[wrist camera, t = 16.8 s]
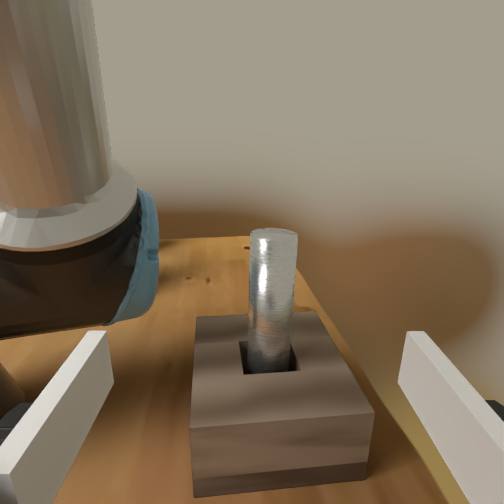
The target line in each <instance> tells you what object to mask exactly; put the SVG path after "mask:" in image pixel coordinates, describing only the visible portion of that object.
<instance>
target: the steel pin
mask: <svg viewBox="0 0 504 504" xmlns="http://www.w3.org/2000/svg"><path fill="white" fill-rule="evenodd" d="M297 241H298V234H297V233H295V232H293V231H291V230H287V229H281V228H262V229H256V230H254V231H252V232H251V233H250V271H249V312H248V354H247V375H248V374H262V373H277V372H288V371H289V356H290V342H291V328H292V314H293V300H294V285H295V271H296V257H297Z"/></svg>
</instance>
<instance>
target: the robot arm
mask: <svg viewBox="0 0 504 504" xmlns="http://www.w3.org/2000/svg"><path fill="white" fill-rule="evenodd" d="M158 250H159V227H158V217H157V211H156V206H155V202H154V199H153V197H152V195H151V194H150V193H149V192H148V191H145V190H140V189H138V188H137V187H136V183H135V180H134V178H133V176H132V174H131V173H130V171H129V170H128V169H127V168H126V167H125V166H124V165H123V164H121V163H120V162H119V161H117V160H115V159H114V158H112V155H111V147H110V140H109V132H108V124H107V117H106V109H105V101H104V93H103V86H102V78H101V70H100V62H99V55H98V47H97V39H96V33H95V24H94V16H93V8H92V0H0V340H5V339H12V338H18V337H24V336H31V335H38V334H45V333H52V332H59V331H66V330H73V329H80V328H87V327H94V326H101V325H102V326H109V325H112V324H114V323H115V322H118V321H123V320H128V319H133V318H137V317H140V316H142V315H143V314H145V313H146V312H147V311H148V310H149V309H150V308H151V306H152V304H153V302H154V299H155V295H156V291H157V284H158V275H159V258H158ZM113 384H114V379H113V372H112V365H111V358H110V351H109V344H108V338H107V331H88V332H87V334H86V335H85V336H84V337H83V339H82V340H81V341H80V343H79V344H78V345H77V347H76V348H75V349H74V351H73V352H72V353H71V354H70V356H69V357H68V358H67V360H66V361H65V362H64V364H63V365H62V366H61V368H60V369H59V370H58V371H57V373H56V374H55V375H54V377H53V378H52V379H51V381H50V382H49V383H48V384H47V386H46V387H45V388H44V390H43V391H42V392H41V394H40V395H39V396H38V398H37V399H36V400H35V401H34V403H26V400H25V396H24V393H23V391H22V389H21V387H20V385H19V384H18V383H17V382H16V381H15V380H14V378H13V377H12V376H11V375H10V374H9V373H8V371H7V370H6V369H5V368H4V367H3V366H2V364H1V363H0V504H52V503H53V501H54V499H55V497H56V496H57V494H58V492H59V490H60V488H61V486H62V484H63V482H64V480H65V478H66V476H67V474H68V472H69V470H70V468H71V466H72V464H73V462H74V460H75V458H76V456H77V454H78V452H79V451H80V449H81V447H82V445H83V443H84V441H85V439H86V437H87V435H88V433H89V431H90V429H91V427H92V425H93V423H94V421H95V419H96V417H97V415H98V413H99V411H100V409H101V407H102V406H103V404H104V402H105V400H106V398H107V396H108V394H109V392H110V390H111V388H112V386H113ZM398 384H399V386H400V387H401V389H402V391H403V392H404V394H405V396H406V398H407V399H408V401H409V403H410V404H411V406H412V408H413V409H414V411H415V413H416V414H417V416H418V417H419V419H420V421H421V423H422V424H423V426H424V427H425V429H426V431H427V433H428V434H429V436H430V438H431V439H432V441H433V443H434V445H435V446H436V448H437V450H438V451H439V453H440V455H441V456H442V458H443V460H444V461H445V463H446V465H447V466H448V468H449V470H450V471H451V473H452V475H453V476H454V478H455V480H456V481H457V483H458V485H459V486H460V488H461V490H462V491H463V493H464V495H465V497H466V498H467V500H468V501H469V503H470V504H504V406H502V405H501V404H499V403H498V402H496V401H495V400H484V399H483V398H482V397H481V396H480V394H479V393H478V392H477V391H476V390H475V389H474V388H473V386H471V384H470V383H469V382H468V381H467V380H466V378H465V377H464V376H463V375H462V374H461V373H460V372H459V371H458V369H457V368H456V367H455V366H454V365H453V364H452V363H451V361H450V360H449V359H448V358H447V357H446V356H445V354H444V353H443V352H442V351H441V350H440V349H439V348H438V346H437V345H436V344H435V343H434V342H433V341H432V340H431V338H430V337H429V336H428V335H427V334H426V333H425V332H424V331H408V332H407V335H406V340H405V345H404V350H403V356H402V361H401V367H400V372H399V377H398Z"/></svg>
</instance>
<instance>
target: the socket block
mask: <svg viewBox="0 0 504 504" xmlns="http://www.w3.org/2000/svg"><path fill="white" fill-rule="evenodd" d="M247 354H248V314H245V315H225V316H205V317H197V318H196V334H195V349H194V365H193V380H192V396H191V411H190V427H189V430H190V446H191V462H192V478H193V494H194V498H197V497H207V496H216V495H226V494H235V493H244V492H254V491H263V490H273V489H282V488H291V487H301V486H310V485H320V484H329V483H338V482H348V481H357V480H365V474H366V468H367V462H368V455H369V449H370V443H371V436H372V430H373V424H374V417H375V411H374V410H373V408H372V406H371V405H370V403H369V401H368V399H367V398H366V396H365V394H364V393H363V391H362V389H361V388H360V386H359V384H358V382H357V381H356V379H355V377H354V376H353V374H352V372H351V371H350V369H349V367H348V366H347V364H346V362H345V360H344V359H343V357H342V355H341V354H340V352H339V350H338V349H337V347H336V345H335V343H334V342H333V340H332V338H331V337H330V335H329V333H328V332H327V330H326V328H325V327H324V325H323V323H322V321H321V320H320V318H319V316H318V315H317V313H316V311H307V312H293V314H292V328H291V342H290V356H289V371H288V372H277V373H262V374H248V375H247Z"/></svg>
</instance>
